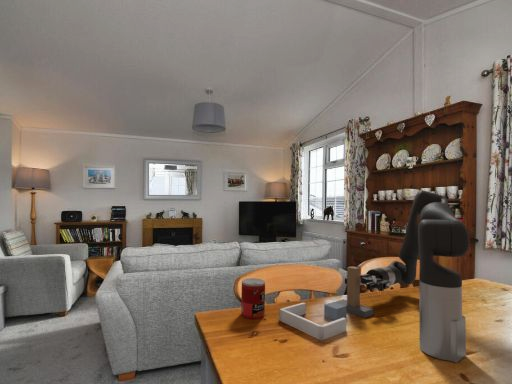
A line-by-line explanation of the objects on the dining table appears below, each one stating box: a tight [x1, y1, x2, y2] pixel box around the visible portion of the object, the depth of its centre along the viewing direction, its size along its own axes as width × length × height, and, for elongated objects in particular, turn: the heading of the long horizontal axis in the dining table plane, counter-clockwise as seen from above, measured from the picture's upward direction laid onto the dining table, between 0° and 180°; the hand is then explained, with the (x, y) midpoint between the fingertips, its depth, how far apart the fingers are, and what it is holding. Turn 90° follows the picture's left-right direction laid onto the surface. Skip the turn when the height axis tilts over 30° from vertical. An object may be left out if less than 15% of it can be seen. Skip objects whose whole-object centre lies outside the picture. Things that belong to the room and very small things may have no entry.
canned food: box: [240, 277, 266, 320], centre depth 97 cm, size 8×8×11 cm
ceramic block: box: [323, 301, 347, 321], centre depth 96 cm, size 5×5×4 cm
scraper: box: [335, 266, 374, 319], centre depth 102 cm, size 12×5×15 cm, turn 37°
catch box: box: [278, 302, 347, 342], centre depth 89 cm, size 17×11×4 cm, turn 37°
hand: (355, 284), depth 103 cm, fingers open, 8 cm apart
